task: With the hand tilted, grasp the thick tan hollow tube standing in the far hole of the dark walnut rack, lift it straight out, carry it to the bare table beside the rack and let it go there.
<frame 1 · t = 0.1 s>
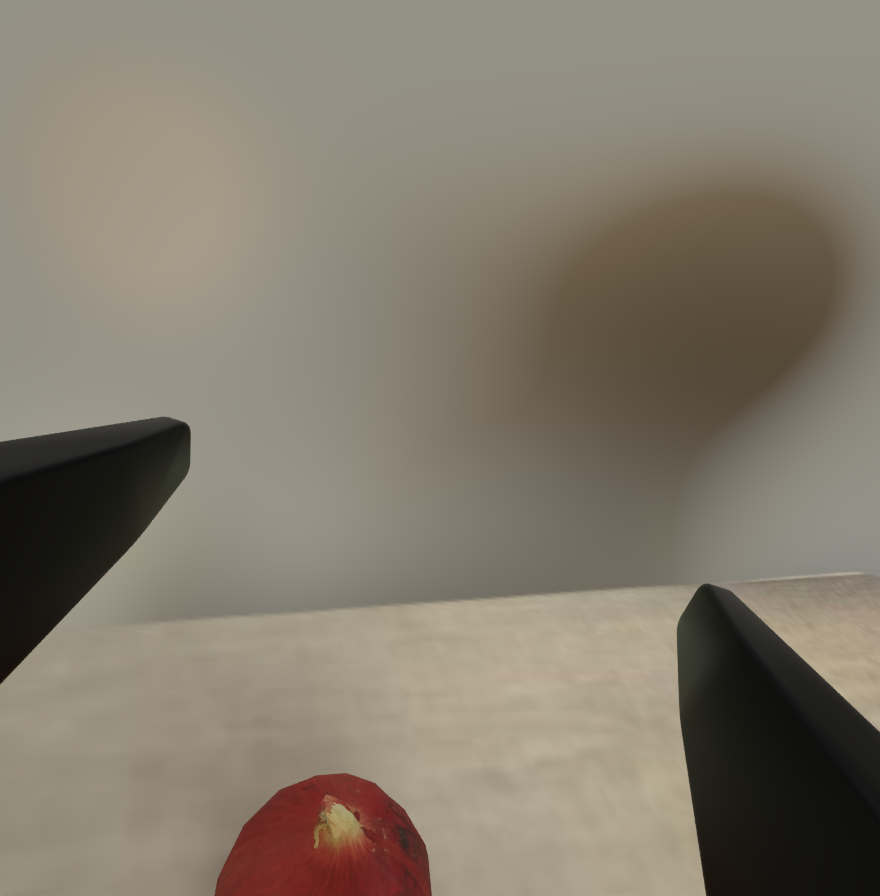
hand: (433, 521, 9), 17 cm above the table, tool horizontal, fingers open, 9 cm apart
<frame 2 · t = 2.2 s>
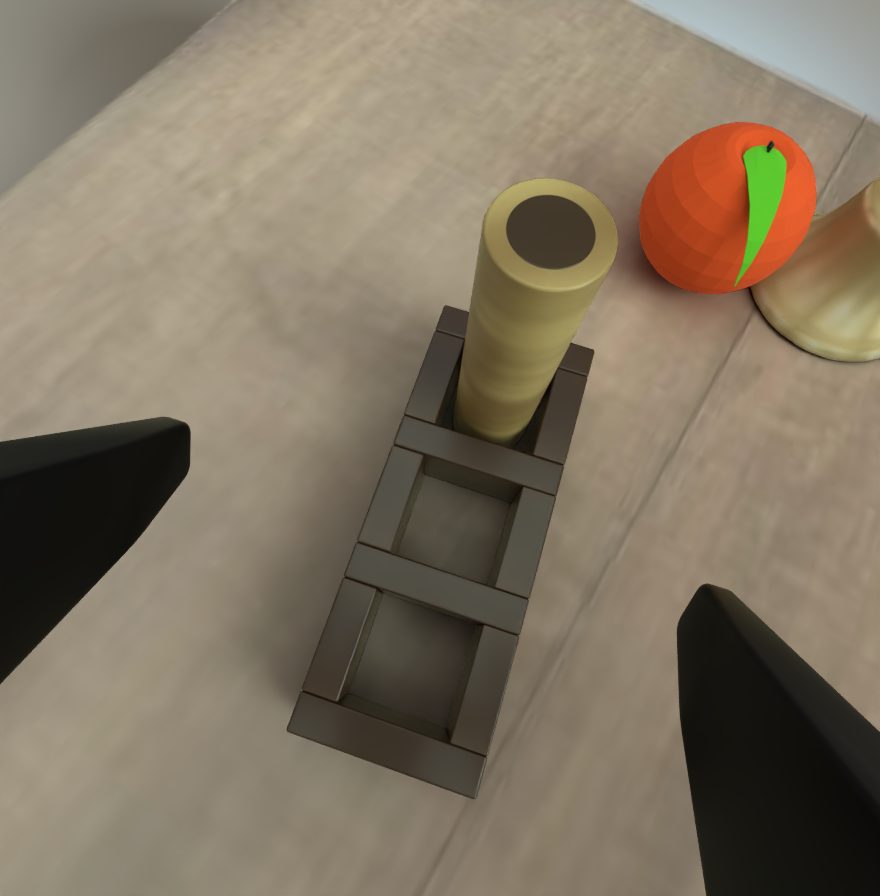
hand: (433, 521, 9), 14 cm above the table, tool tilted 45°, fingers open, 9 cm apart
rack: (453, 531, 23), on the table
tan hollow tube: (488, 421, 25), resting in rack
hand bell: (827, 290, 28), on the table
clementine: (684, 273, 28), on the table
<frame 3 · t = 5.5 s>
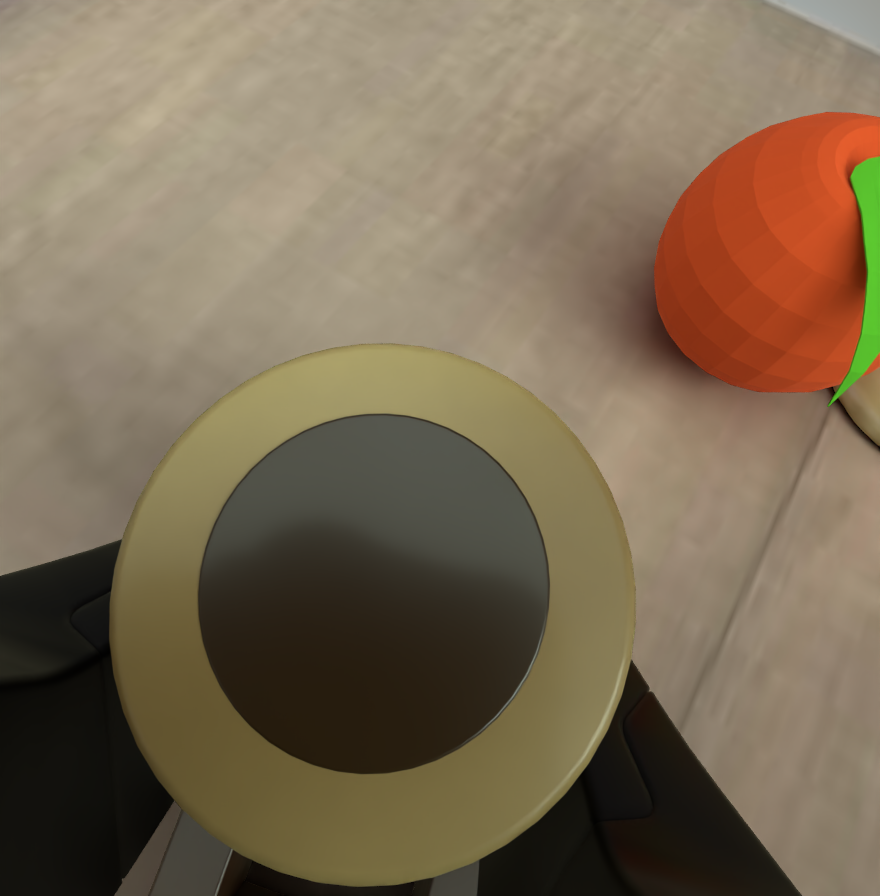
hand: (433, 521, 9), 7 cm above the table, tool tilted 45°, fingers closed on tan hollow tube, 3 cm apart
rack: (350, 817, 14), on the table
tan hollow tube: (415, 608, 15), resting in rack, touching gripper
clementine: (722, 345, 18), on the table
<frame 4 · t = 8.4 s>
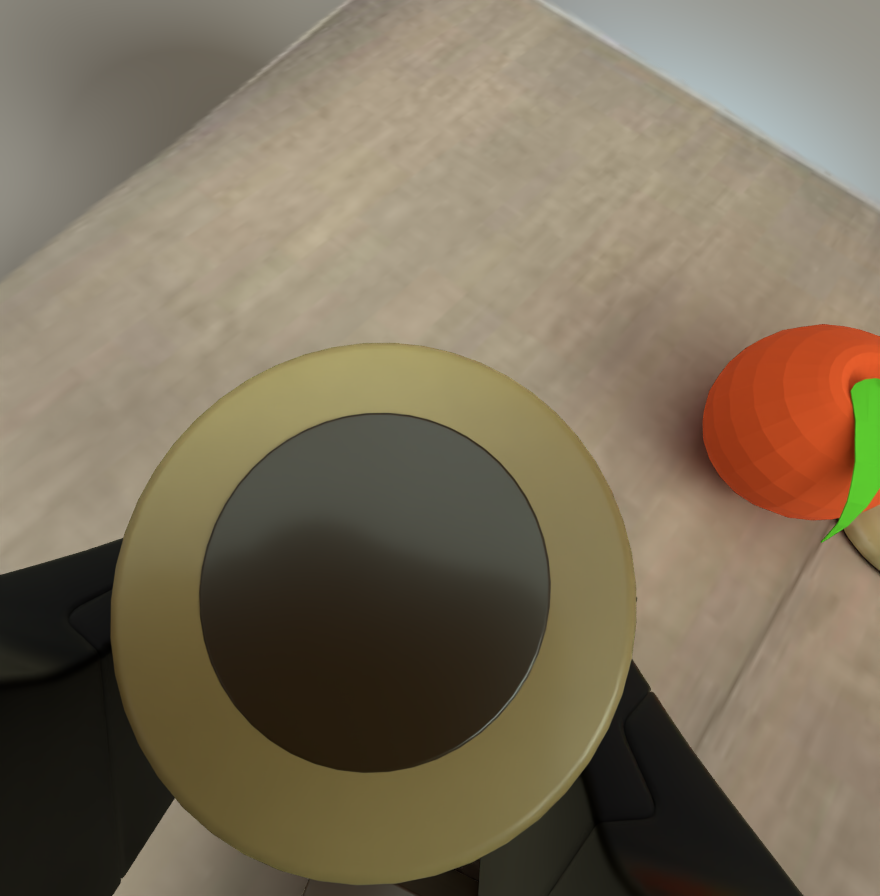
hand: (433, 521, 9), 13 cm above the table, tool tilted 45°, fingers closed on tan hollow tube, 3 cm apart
rack: (447, 793, 19), on the table
tan hollow tube: (414, 608, 15), point 6 cm above the table, touching gripper
clementine: (750, 463, 23), on the table
when the fingers open (7 cm above the table, at t = 11.6 s): tan hollow tube stays where it is, on the table.
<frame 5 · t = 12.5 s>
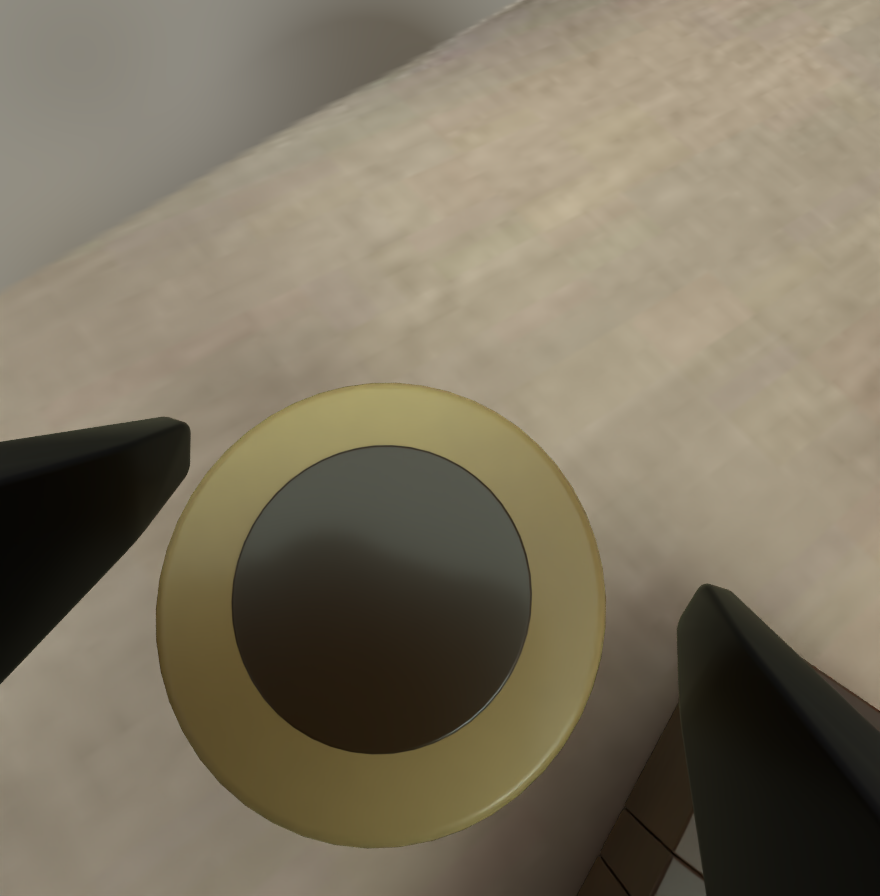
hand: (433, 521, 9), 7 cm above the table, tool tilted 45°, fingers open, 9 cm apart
tan hollow tube: (414, 610, 16), on the table
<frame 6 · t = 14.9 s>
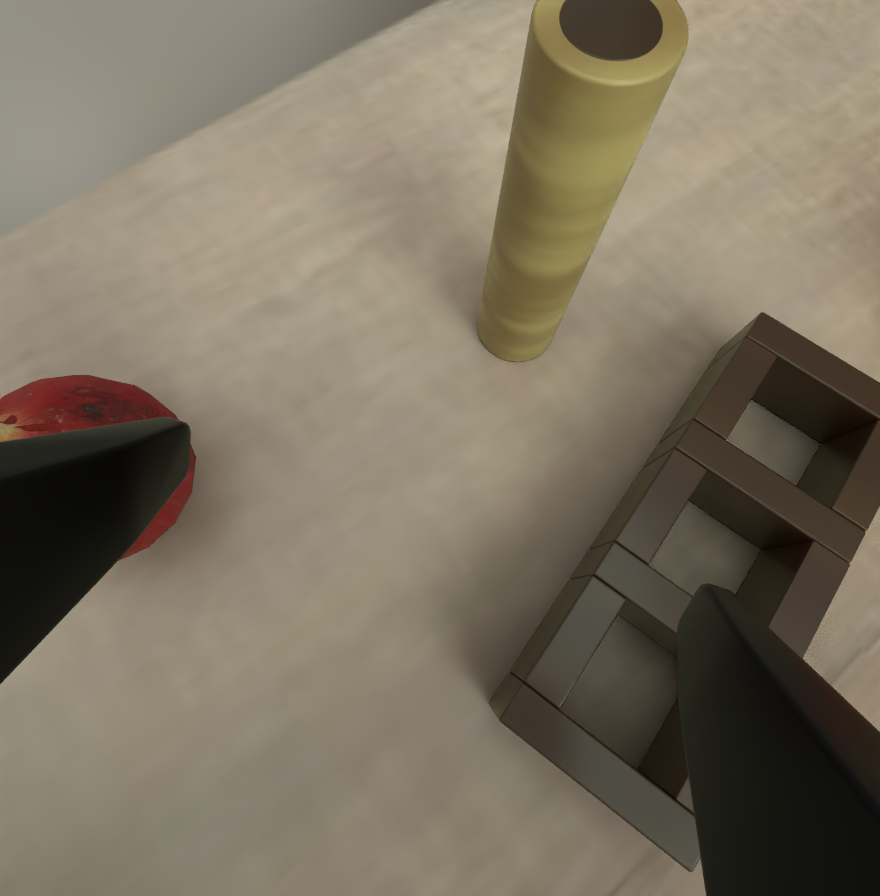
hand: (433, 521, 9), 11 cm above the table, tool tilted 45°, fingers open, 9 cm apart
rack: (689, 560, 21), on the table
tan hollow tube: (515, 327, 23), on the table
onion: (150, 495, 21), on the table
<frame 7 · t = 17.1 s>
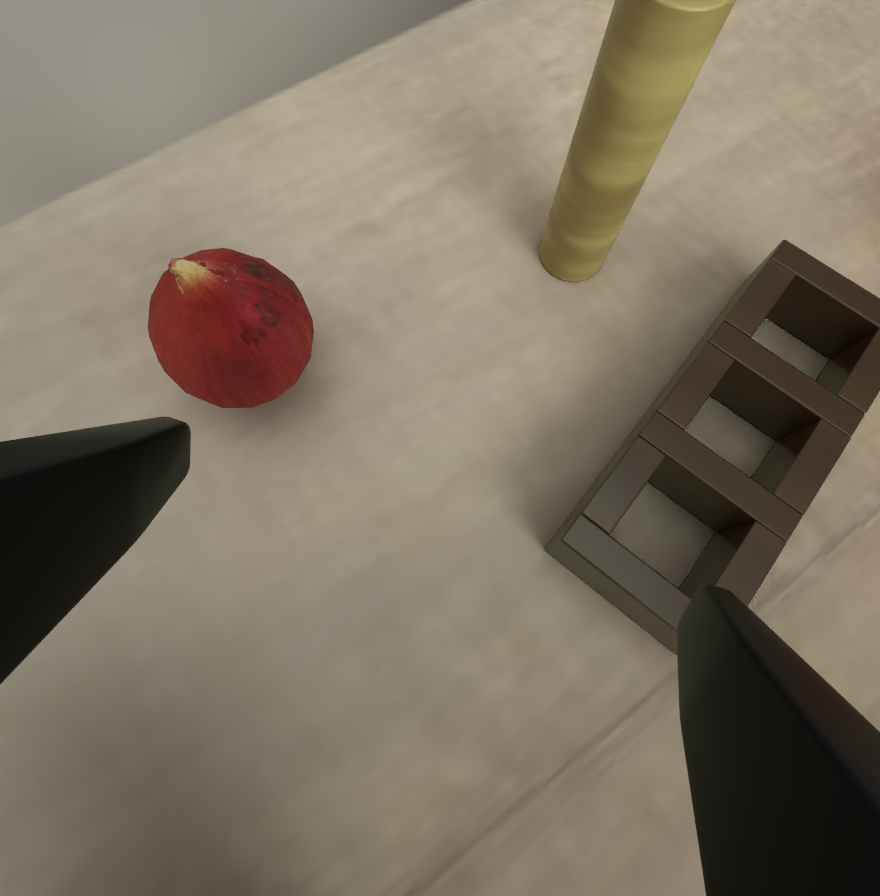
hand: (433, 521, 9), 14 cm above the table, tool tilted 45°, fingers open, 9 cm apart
rack: (715, 446, 24), on the table
tan hollow tube: (571, 253, 27), on the table
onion: (263, 374, 25), on the table
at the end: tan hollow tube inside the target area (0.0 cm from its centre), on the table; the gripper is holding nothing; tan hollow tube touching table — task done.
